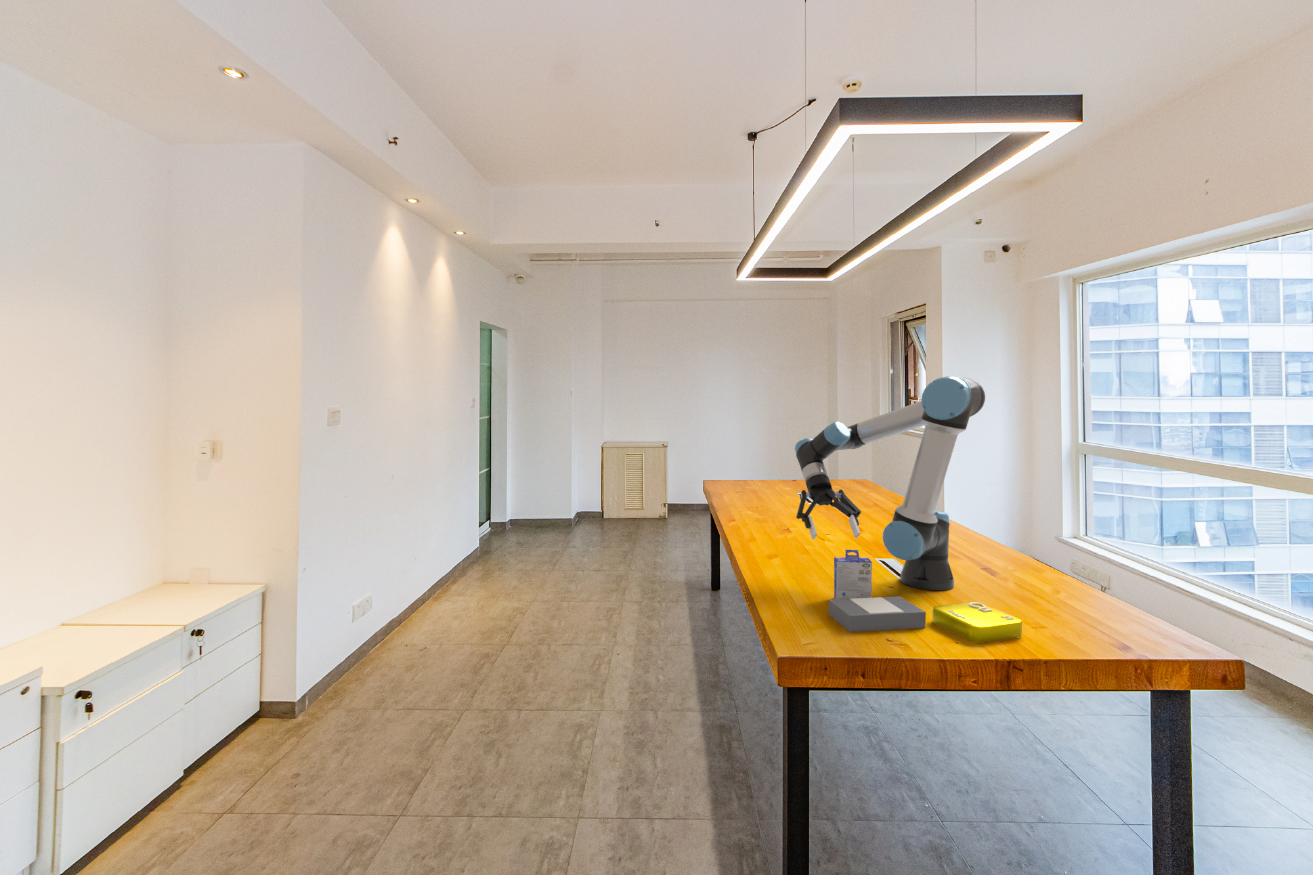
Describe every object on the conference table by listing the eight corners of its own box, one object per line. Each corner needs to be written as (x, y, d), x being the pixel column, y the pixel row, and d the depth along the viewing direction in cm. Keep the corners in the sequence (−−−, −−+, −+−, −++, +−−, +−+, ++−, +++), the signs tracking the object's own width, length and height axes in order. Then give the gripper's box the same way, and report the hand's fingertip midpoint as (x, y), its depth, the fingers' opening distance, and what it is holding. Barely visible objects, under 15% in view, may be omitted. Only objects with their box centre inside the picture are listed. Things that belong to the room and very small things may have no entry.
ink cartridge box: (868, 599, 167) (869, 549, 166) (872, 605, 162) (873, 554, 161) (832, 597, 169) (833, 548, 168) (835, 604, 163) (836, 553, 162)
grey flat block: (899, 610, 157) (899, 595, 157) (925, 627, 146) (925, 611, 145) (828, 614, 155) (829, 599, 155) (849, 631, 143) (849, 615, 143)
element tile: (928, 622, 150) (929, 604, 150) (975, 616, 154) (976, 598, 154) (975, 645, 136) (975, 625, 136) (1025, 638, 140) (1026, 618, 140)
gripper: (849, 486, 193) (870, 541, 179) (776, 487, 190) (793, 543, 176) (857, 472, 188) (880, 528, 174) (782, 473, 185) (799, 530, 171)
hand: (836, 536), depth 175 cm, fingers open, 13 cm apart
